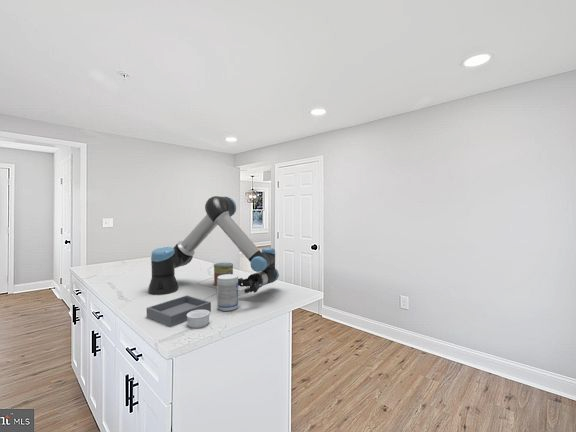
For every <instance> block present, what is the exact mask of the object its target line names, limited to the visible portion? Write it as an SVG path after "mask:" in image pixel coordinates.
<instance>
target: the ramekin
mask: <svg viewBox="0 0 576 432" xmlns="http://www.w3.org/2000/svg"><path fill="white" fill-rule="evenodd" d="M210 314H211V311H208V310H194V311H191V312H189V313H188V314H187V325H188V327H190V328H191V329H192V328H193V329H198V328H202V327H205V326H207V325H208V324H209V323H210Z"/></svg>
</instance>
